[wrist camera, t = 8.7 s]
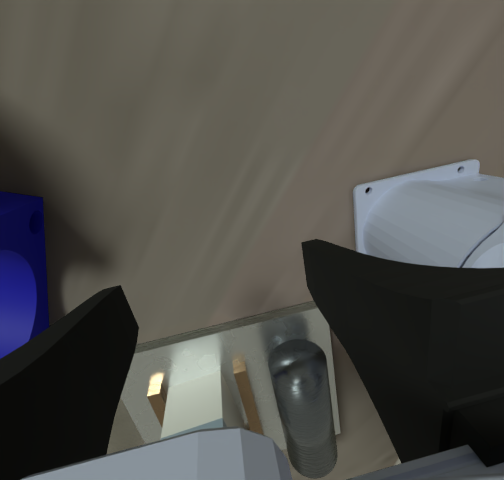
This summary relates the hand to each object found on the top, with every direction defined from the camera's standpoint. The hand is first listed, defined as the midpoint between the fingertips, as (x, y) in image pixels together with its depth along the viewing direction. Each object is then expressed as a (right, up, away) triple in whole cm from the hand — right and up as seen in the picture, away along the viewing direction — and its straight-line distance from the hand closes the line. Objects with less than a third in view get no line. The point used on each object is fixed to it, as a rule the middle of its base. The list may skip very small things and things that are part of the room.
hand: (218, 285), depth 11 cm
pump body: (-2, -13, +14) cm, 19 cm away
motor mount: (0, -12, +15) cm, 20 cm away
